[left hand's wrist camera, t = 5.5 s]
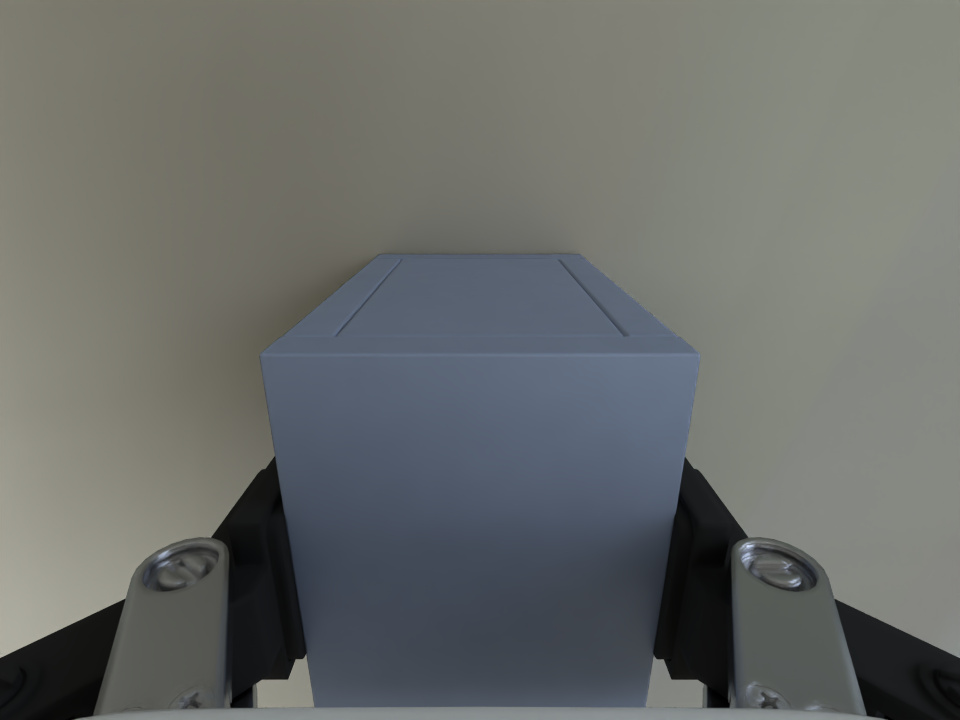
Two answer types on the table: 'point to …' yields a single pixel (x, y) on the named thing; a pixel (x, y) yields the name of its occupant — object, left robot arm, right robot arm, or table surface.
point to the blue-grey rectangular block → (479, 481)
